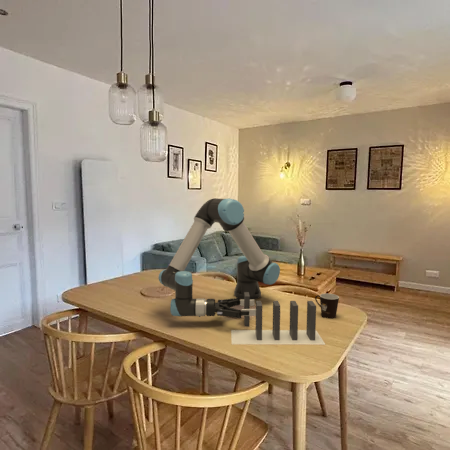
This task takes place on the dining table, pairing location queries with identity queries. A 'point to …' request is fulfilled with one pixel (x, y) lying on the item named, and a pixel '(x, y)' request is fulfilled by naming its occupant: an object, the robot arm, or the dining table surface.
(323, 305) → the coffee mug
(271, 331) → the mat
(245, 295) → the domino
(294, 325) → the domino
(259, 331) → the domino
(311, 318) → the domino
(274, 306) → the domino
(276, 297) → the dining table surface
